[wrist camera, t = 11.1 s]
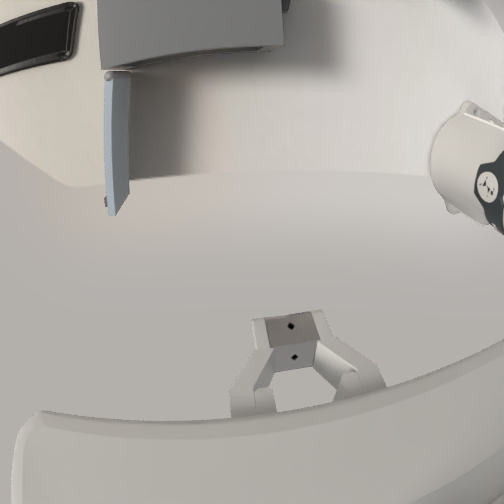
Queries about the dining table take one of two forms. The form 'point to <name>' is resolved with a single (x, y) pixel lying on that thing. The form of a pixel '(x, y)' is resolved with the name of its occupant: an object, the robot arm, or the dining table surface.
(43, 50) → the phone
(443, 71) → the dining table surface
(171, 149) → the dining table surface
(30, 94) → the dining table surface
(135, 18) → the box
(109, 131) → the side door
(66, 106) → the dining table surface
